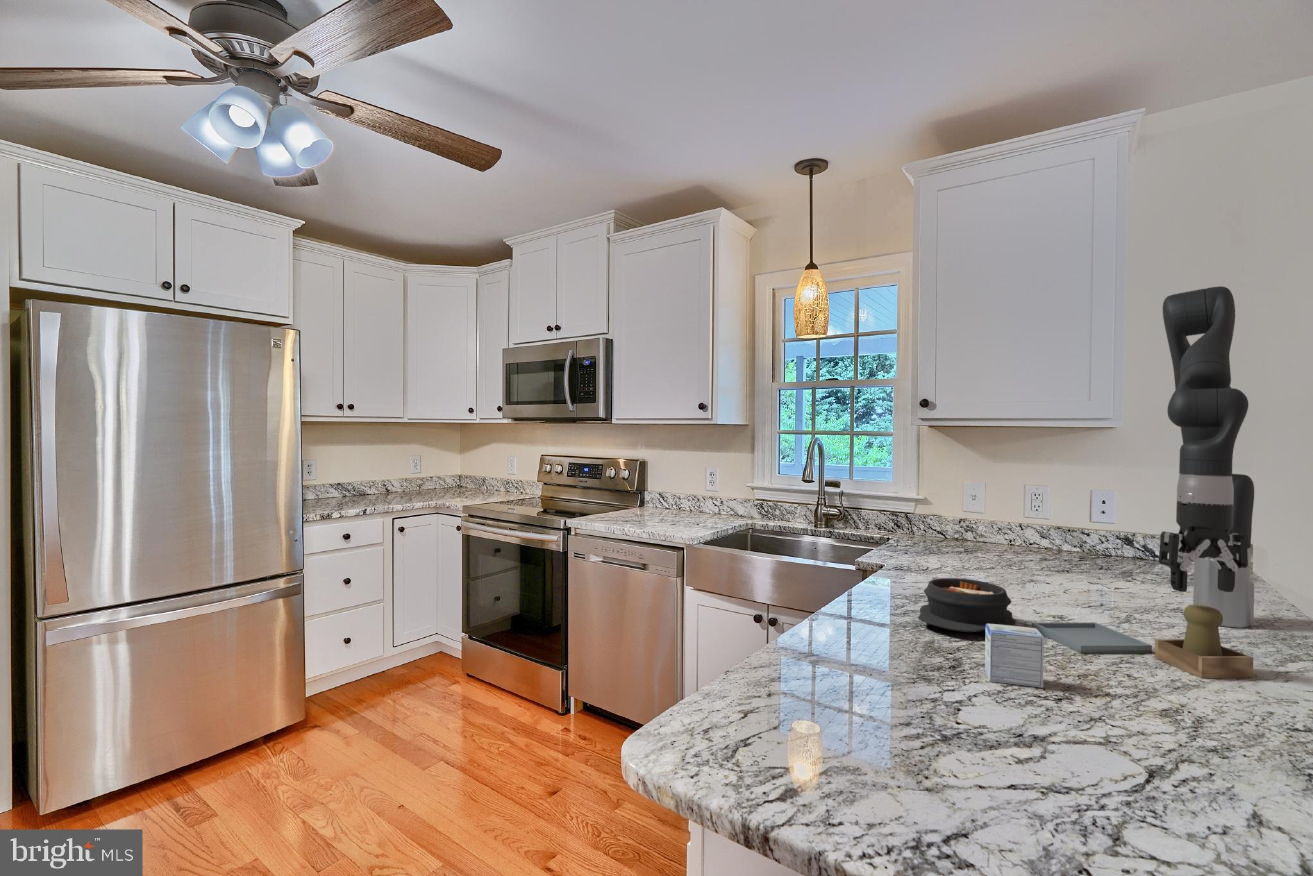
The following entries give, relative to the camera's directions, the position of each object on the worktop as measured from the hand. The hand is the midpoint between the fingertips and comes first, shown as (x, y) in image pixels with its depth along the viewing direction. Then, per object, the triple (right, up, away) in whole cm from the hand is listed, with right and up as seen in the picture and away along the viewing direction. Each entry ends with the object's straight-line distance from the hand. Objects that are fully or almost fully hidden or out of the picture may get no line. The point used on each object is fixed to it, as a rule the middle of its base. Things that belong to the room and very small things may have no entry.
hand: (1202, 591), depth 108 cm
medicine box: (-38, -14, -7) cm, 41 cm away
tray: (-11, -14, +14) cm, 22 cm away
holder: (0, -14, 0) cm, 14 cm away
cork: (0, -14, 0) cm, 14 cm away
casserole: (-30, -14, +24) cm, 41 cm away
